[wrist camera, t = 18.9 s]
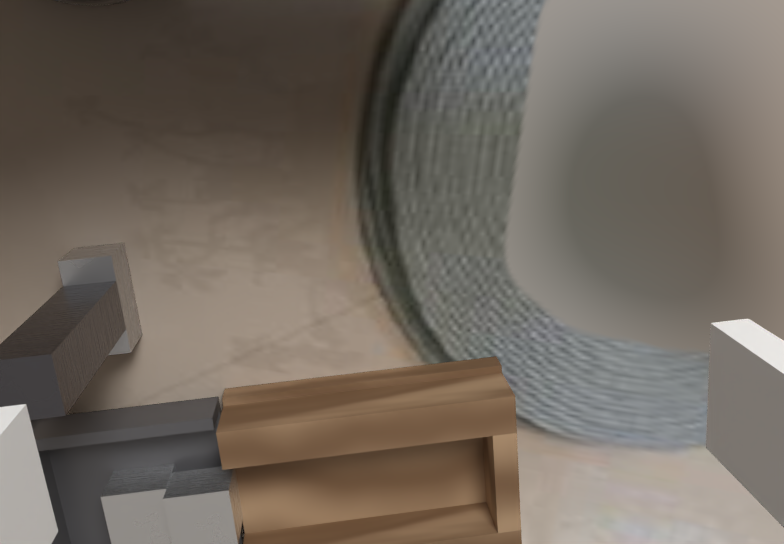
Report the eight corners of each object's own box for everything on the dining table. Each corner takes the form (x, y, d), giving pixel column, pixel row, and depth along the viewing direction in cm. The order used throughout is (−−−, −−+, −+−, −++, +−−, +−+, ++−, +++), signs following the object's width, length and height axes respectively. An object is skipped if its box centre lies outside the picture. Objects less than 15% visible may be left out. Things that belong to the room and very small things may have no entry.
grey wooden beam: (73, 248, 46) (-28, 330, 32) (124, 242, 46) (43, 322, 32) (94, 339, 47) (5, 453, 34) (142, 334, 48) (72, 445, 34)
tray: (30, 419, 48) (12, 442, 46) (218, 396, 49) (212, 417, 46) (70, 575, 52) (55, 605, 49) (244, 551, 53) (240, 580, 50)
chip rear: (113, 471, 49) (100, 496, 47) (174, 463, 50) (165, 488, 47) (125, 523, 51) (113, 551, 48) (185, 515, 51) (176, 543, 48)
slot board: (224, 388, 49) (214, 425, 44) (496, 356, 50) (514, 388, 45) (253, 556, 53) (246, 607, 48) (504, 523, 54) (522, 569, 49)
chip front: (172, 472, 49) (162, 498, 46) (234, 464, 49) (228, 490, 46) (182, 525, 50) (174, 554, 47) (243, 517, 50) (238, 545, 47)
